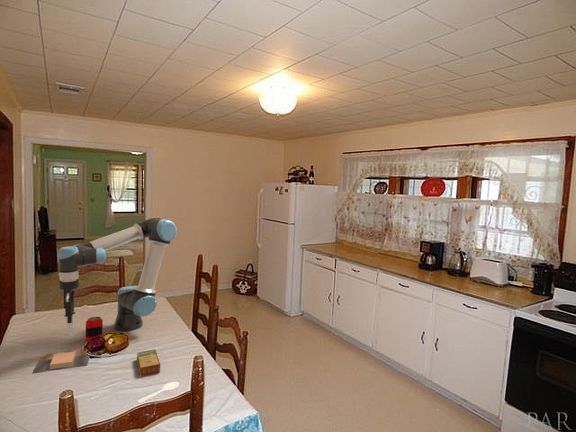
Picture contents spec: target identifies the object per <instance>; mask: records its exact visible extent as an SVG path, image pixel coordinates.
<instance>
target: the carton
mask: <svg viewBox="0 0 576 432" xmlns="http://www.w3.org/2000/svg"><path fill="white" fill-rule="evenodd" d="M157 352H158V351H157V350H156V349H149V350H144V351H138V352H137V353H136V354H137V356H136V361H137V366H138V372H139V376H140V377H144V376H148V375H153V374H159V373H160V372H161V362H160V360H159V355H158V353H157Z"/></svg>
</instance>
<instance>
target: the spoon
mask: <svg viewBox="0 0 576 432" xmlns="http://www.w3.org/2000/svg"><path fill="white" fill-rule="evenodd" d="M179 386H180V382H179V381H171V382H168V383H165V384H164V385H162V389H159V390H157V391H156V392H152V393H151V394H149V395H146V396H144V397H142V398H140V399H138V400H137V404H141V403H144V402H146V401H147V400H149V399H152V398H153V397H155V396H157V395H159V394H161V393H162V392H170V391H174V390H175V389H177V388H178V387H179Z"/></svg>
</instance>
